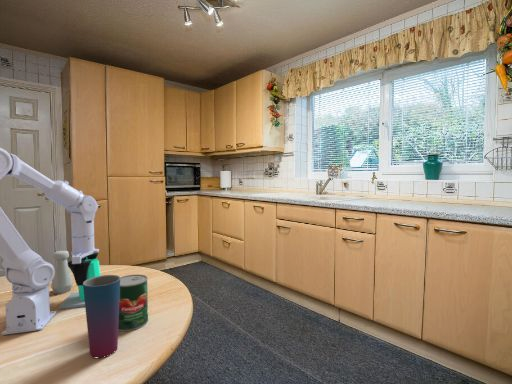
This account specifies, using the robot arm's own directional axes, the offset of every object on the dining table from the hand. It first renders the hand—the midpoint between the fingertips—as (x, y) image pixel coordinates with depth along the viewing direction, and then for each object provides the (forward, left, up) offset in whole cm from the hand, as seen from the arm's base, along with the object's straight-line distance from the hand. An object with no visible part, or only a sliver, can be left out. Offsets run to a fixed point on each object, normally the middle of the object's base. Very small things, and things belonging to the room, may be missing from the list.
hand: (84, 281), depth 85 cm
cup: (-30, -11, -6) cm, 32 cm away
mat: (0, 0, -6) cm, 6 cm away
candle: (0, -2, -5) cm, 5 cm away
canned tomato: (-19, -15, -6) cm, 25 cm away
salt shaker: (+10, +9, -6) cm, 15 cm away
